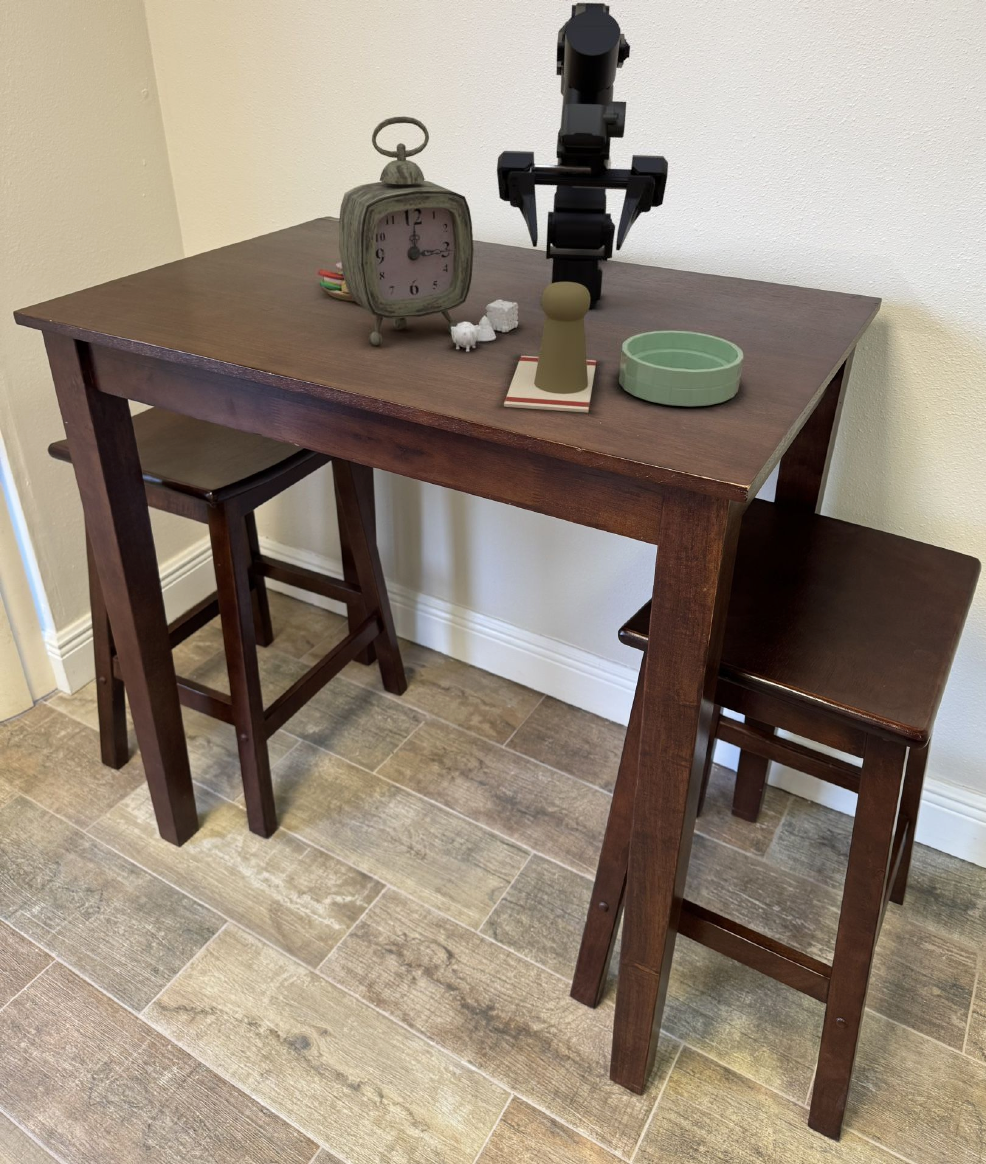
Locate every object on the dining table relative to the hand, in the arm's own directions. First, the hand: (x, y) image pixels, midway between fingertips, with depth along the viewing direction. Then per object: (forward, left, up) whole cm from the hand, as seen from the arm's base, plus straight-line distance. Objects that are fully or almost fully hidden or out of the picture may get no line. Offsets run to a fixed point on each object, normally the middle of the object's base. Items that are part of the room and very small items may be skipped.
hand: (576, 246), depth 104 cm
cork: (0, -7, -13) cm, 15 cm away
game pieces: (-11, +7, -14) cm, 19 cm away
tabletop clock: (-21, +7, -14) cm, 27 cm away
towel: (-1, -7, -14) cm, 15 cm away
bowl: (+13, -5, -14) cm, 19 cm away
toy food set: (-31, +24, -14) cm, 42 cm away
